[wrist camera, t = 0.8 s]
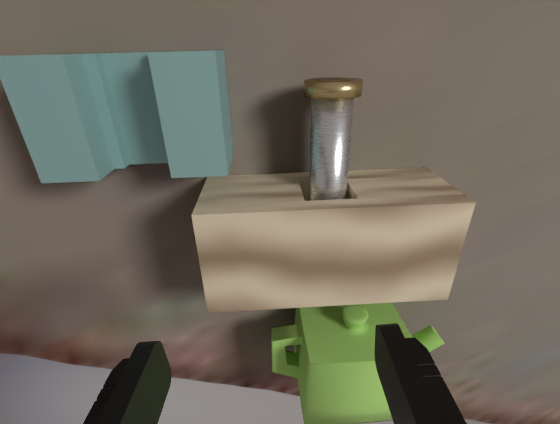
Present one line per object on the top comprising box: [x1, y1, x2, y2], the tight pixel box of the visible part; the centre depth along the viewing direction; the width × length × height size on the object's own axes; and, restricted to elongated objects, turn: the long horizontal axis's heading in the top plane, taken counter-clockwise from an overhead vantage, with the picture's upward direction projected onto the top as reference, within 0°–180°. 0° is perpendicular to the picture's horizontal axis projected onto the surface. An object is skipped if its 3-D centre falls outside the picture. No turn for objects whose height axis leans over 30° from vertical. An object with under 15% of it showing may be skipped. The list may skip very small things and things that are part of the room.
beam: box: [191, 168, 476, 313], centre depth 28 cm, size 9×20×8 cm, turn 91°
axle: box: [304, 78, 363, 201], centre depth 26 cm, size 18×4×4 cm, turn 1°
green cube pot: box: [271, 303, 444, 424], centre depth 33 cm, size 18×10×10 cm, turn 90°
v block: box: [0, 50, 234, 183], centre depth 23 cm, size 8×13×6 cm, turn 91°
